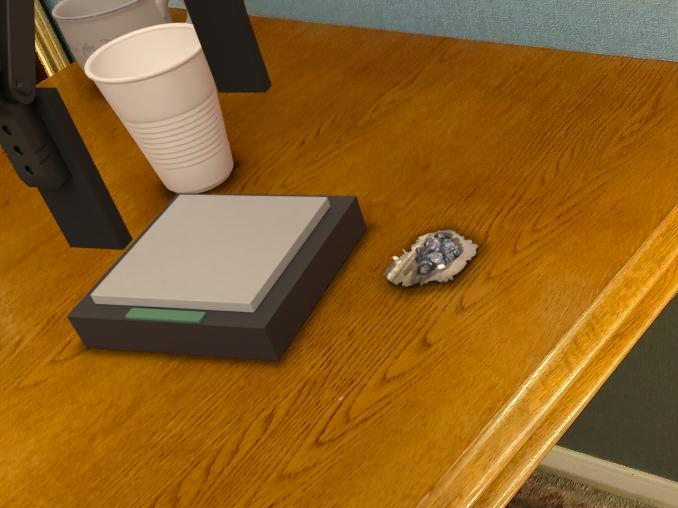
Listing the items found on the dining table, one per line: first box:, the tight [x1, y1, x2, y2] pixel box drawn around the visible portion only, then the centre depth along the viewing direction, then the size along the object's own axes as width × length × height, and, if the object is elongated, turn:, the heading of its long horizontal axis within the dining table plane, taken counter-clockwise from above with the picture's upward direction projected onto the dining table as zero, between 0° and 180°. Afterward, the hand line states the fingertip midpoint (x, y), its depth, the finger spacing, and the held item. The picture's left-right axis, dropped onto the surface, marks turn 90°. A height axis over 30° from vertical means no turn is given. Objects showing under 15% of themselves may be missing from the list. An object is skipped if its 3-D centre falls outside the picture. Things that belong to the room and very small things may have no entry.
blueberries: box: [382, 229, 479, 288], centre depth 72 cm, size 7×8×2 cm
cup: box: [84, 22, 234, 194], centre depth 83 cm, size 10×10×11 cm
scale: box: [66, 192, 367, 362], centre depth 74 cm, size 16×16×4 cm
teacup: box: [51, 0, 192, 73], centre depth 101 cm, size 14×11×8 cm
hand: (180, 160), depth 46 cm, fingers open, 13 cm apart
